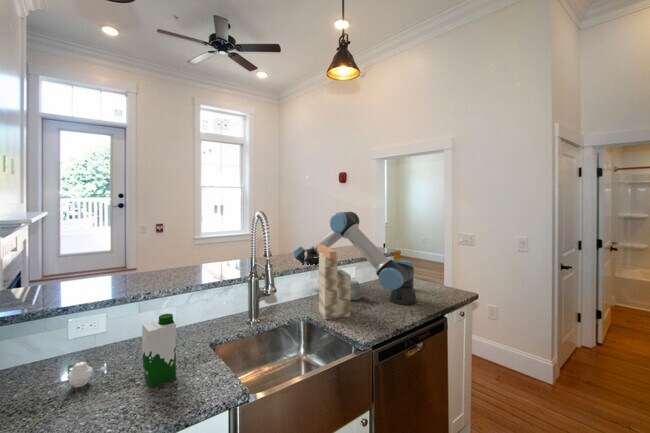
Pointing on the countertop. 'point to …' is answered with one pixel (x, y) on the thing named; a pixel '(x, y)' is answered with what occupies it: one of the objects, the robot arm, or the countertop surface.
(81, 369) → the pale grey lumpy disc
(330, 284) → the stepped stand
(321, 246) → the orange bar
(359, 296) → the air freshener
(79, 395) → the countertop surface
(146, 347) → the milk carton
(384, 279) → the robot arm
